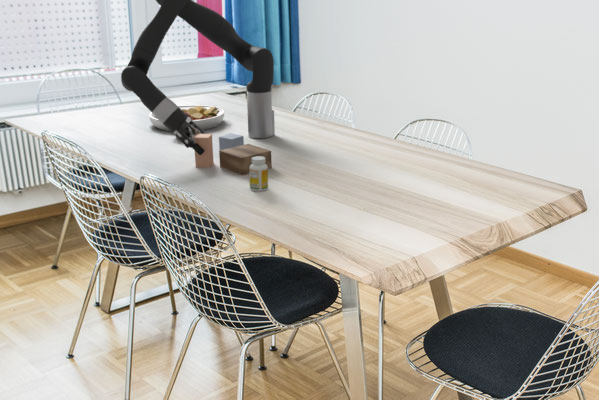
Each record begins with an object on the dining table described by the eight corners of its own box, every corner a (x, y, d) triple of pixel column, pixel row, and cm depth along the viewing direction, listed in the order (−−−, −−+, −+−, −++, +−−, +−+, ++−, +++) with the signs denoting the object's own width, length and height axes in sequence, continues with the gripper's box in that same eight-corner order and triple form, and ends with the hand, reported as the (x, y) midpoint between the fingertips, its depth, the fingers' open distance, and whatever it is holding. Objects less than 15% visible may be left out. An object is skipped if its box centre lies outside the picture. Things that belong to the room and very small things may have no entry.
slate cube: (231, 149, 253) (230, 133, 251) (244, 152, 250) (243, 135, 248) (219, 153, 249) (218, 136, 247) (232, 156, 245) (231, 139, 243)
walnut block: (249, 160, 240) (248, 143, 238) (271, 168, 232) (271, 150, 230) (220, 168, 233) (219, 150, 231) (242, 176, 224) (241, 157, 222)
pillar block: (199, 162, 238) (197, 133, 234) (213, 163, 237) (211, 134, 234) (195, 167, 233) (193, 137, 230) (209, 167, 233) (208, 137, 229)
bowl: (153, 117, 303) (152, 99, 300) (224, 115, 306) (223, 97, 303) (147, 135, 275) (145, 115, 272) (225, 132, 278) (224, 112, 275)
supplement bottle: (251, 192, 208) (250, 161, 205) (249, 186, 213) (247, 156, 210) (269, 191, 209) (268, 159, 206) (266, 185, 214) (266, 154, 211)
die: (185, 143, 264) (198, 121, 264) (165, 132, 264) (178, 109, 264) (188, 146, 272) (201, 124, 272) (169, 134, 272) (181, 112, 272)
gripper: (170, 111, 223) (208, 147, 226) (183, 102, 236) (219, 136, 239) (155, 127, 226) (193, 163, 228) (169, 117, 239) (204, 151, 241)
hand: (206, 149), depth 233 cm, fingers open, 8 cm apart
